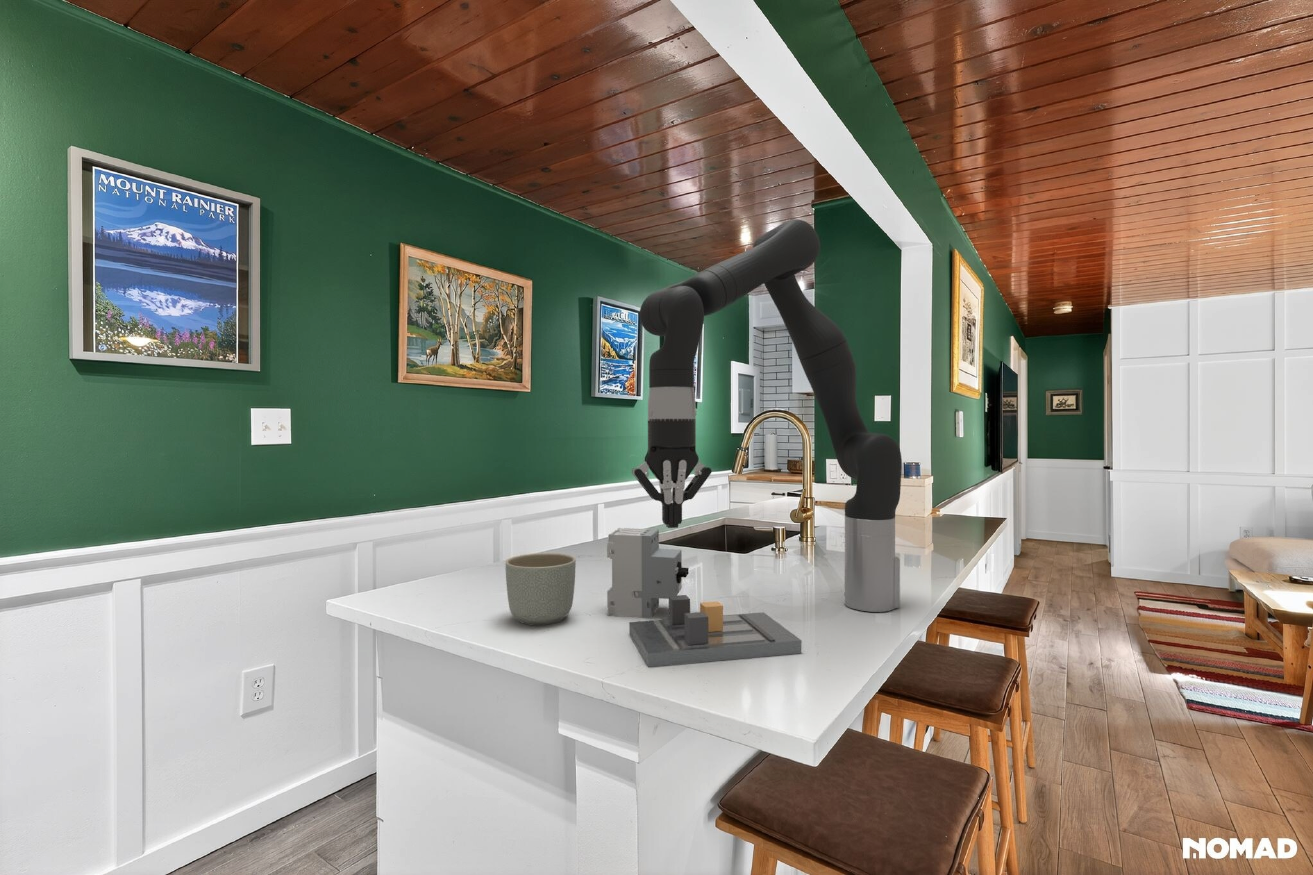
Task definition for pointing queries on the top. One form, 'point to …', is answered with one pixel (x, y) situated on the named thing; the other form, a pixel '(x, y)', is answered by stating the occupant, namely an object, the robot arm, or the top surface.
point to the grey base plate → (713, 640)
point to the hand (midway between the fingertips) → (671, 527)
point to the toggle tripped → (713, 615)
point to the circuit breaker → (641, 572)
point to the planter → (540, 587)
